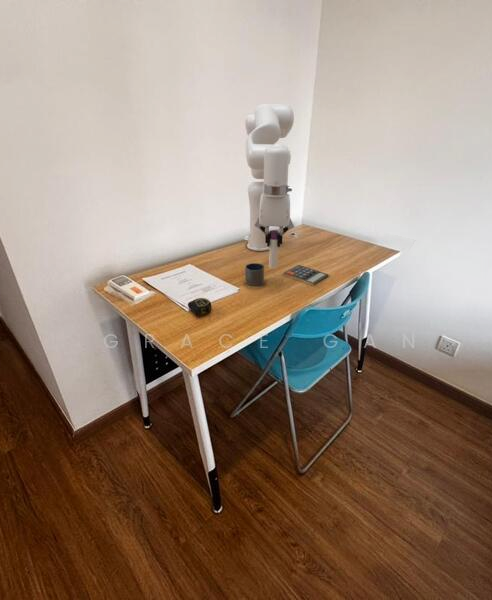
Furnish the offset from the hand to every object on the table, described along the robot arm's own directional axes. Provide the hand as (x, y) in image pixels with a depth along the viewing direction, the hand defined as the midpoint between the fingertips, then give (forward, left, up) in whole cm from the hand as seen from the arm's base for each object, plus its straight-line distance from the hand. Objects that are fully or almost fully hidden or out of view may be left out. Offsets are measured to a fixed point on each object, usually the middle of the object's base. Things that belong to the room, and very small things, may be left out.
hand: (273, 245), depth 111 cm
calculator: (+3, +22, -19) cm, 30 cm away
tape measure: (-13, -25, -20) cm, 34 cm away
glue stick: (0, 0, -8) cm, 8 cm away
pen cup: (-10, +3, -19) cm, 22 cm away
